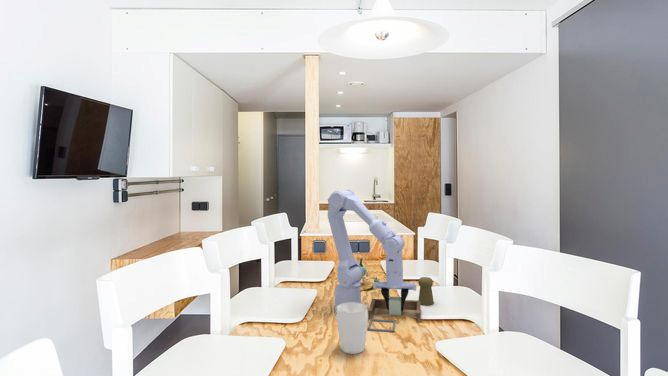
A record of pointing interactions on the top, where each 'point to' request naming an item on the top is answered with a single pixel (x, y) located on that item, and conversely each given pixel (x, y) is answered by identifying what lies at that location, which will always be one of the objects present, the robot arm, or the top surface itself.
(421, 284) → the cork
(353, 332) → the cup
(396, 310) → the sage block
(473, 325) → the top surface
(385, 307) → the brown wooden box
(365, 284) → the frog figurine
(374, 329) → the gray square frame
